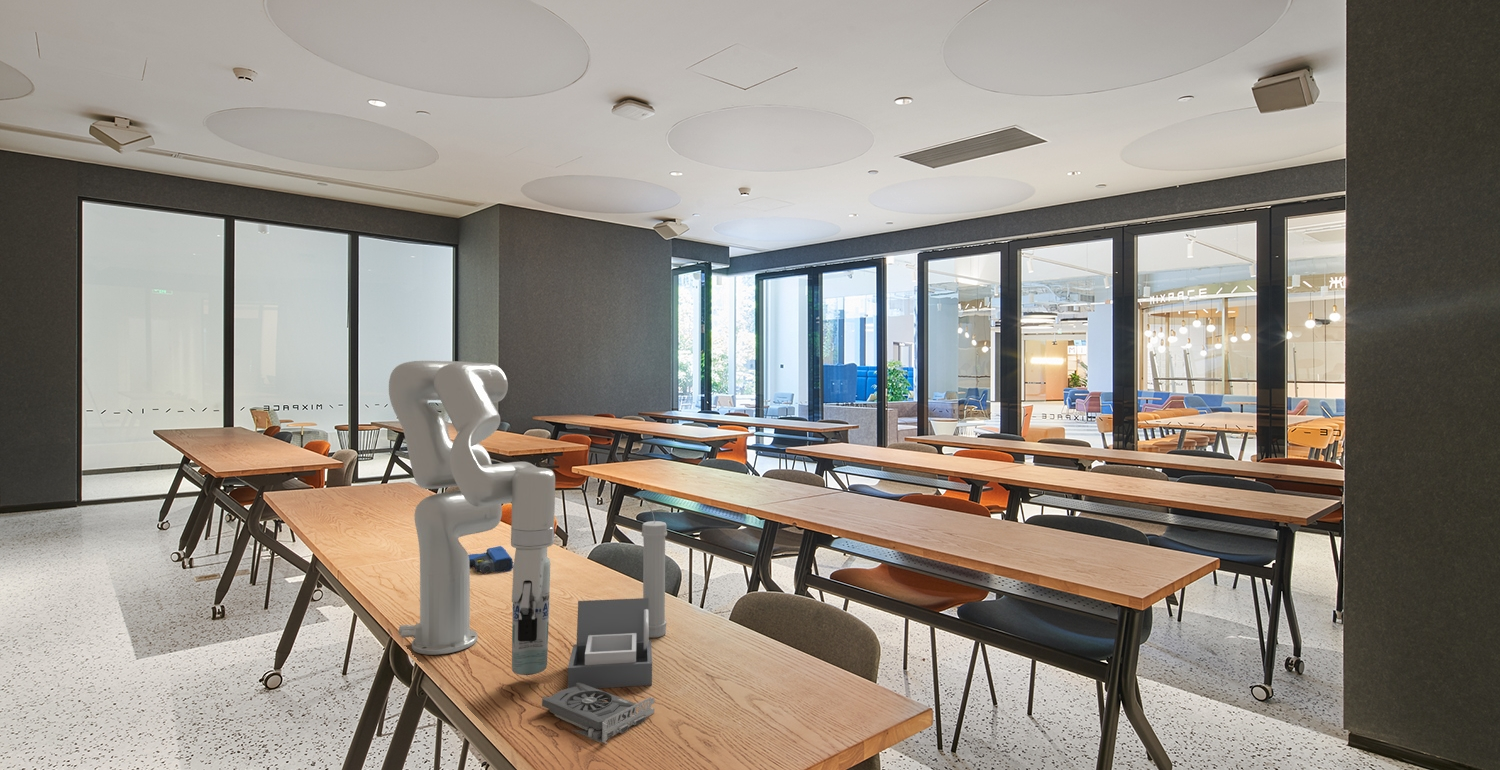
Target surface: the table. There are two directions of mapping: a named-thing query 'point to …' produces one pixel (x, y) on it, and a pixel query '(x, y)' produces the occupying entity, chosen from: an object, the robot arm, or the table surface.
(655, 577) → the pipe
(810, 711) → the table surface
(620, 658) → the case
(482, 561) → the stun gun
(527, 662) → the spray paint can
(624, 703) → the graphics card
